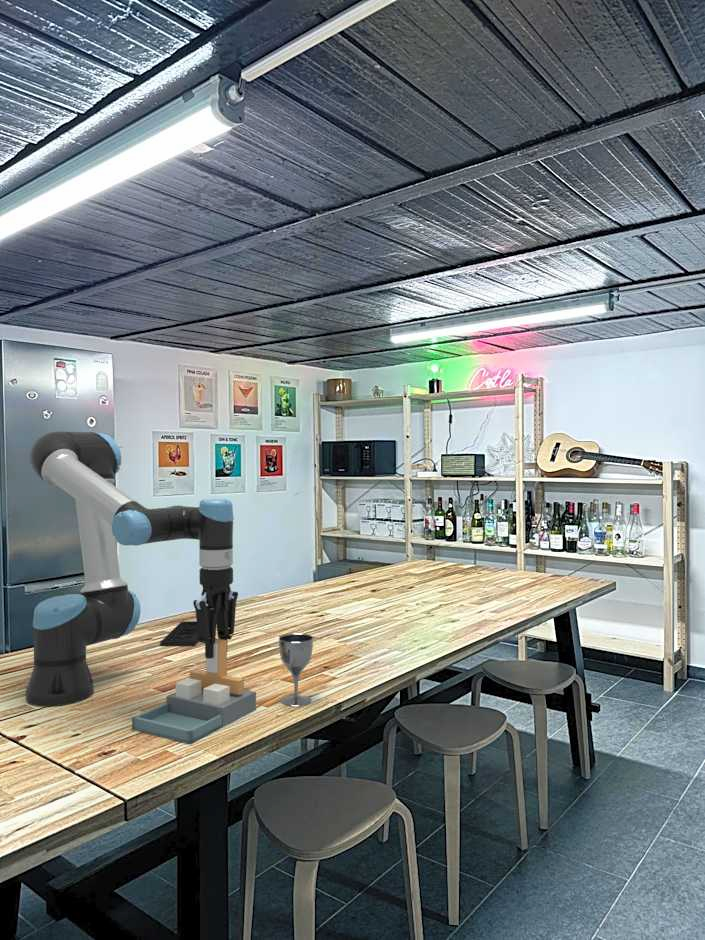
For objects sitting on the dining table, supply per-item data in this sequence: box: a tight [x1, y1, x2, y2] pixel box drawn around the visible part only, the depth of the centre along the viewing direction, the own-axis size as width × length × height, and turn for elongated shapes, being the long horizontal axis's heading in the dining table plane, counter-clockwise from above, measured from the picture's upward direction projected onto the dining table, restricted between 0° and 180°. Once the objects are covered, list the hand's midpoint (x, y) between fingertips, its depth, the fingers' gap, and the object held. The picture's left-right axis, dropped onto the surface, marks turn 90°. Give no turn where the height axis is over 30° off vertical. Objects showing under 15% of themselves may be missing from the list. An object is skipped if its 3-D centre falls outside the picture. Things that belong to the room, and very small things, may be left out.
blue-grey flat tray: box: [131, 702, 223, 745], centre depth 147 cm, size 16×10×2 cm, turn 61°
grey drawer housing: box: [165, 687, 257, 728], centre depth 157 cm, size 16×12×4 cm
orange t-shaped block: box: [189, 637, 245, 695], centre depth 159 cm, size 14×2×11 cm, turn 62°
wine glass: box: [278, 632, 314, 707], centre depth 164 cm, size 8×8×15 cm
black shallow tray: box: [159, 620, 244, 647], centre depth 225 cm, size 26×3×30 cm
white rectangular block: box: [203, 684, 230, 705], centre depth 152 cm, size 4×4×3 cm
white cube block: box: [175, 677, 201, 699], centre depth 156 cm, size 4×4×3 cm
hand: (216, 669), depth 159 cm, fingers closed on orange t-shaped block, 2 cm apart
